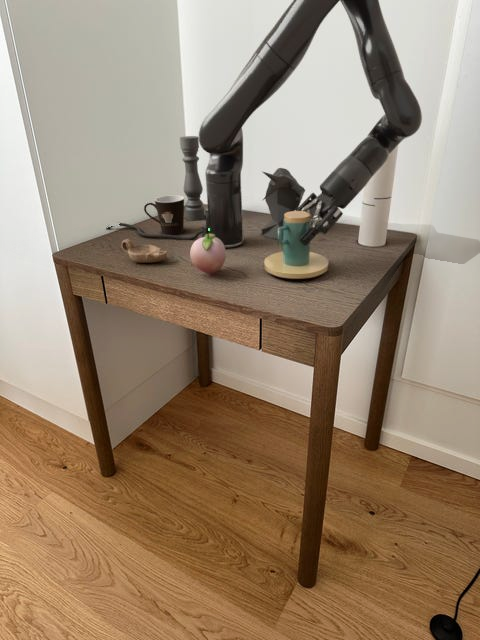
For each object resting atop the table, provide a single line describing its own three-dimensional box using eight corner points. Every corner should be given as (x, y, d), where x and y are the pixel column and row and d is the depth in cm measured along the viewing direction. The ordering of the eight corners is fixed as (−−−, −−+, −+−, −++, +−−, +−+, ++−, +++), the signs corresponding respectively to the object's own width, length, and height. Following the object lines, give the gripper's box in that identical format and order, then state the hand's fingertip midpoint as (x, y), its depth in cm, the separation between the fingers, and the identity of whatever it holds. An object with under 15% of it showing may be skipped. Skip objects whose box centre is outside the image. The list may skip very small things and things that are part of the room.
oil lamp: (173, 259, 118) (171, 240, 115) (155, 269, 112) (153, 250, 110) (134, 252, 123) (131, 234, 121) (115, 261, 118) (112, 242, 115)
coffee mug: (192, 229, 140) (190, 197, 135) (174, 237, 133) (171, 203, 129) (163, 225, 145) (160, 193, 141) (145, 232, 139) (140, 199, 134)
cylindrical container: (386, 247, 121) (399, 147, 109) (358, 246, 122) (368, 146, 110) (384, 238, 127) (397, 142, 115) (358, 237, 128) (367, 142, 116)
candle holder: (186, 215, 154) (179, 136, 142) (204, 214, 155) (199, 135, 143) (185, 221, 149) (178, 139, 137) (204, 219, 149) (199, 138, 137)
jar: (294, 250, 117) (296, 202, 111) (341, 266, 107) (345, 213, 101) (251, 266, 109) (249, 214, 103) (297, 284, 99) (298, 228, 93)
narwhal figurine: (316, 228, 137) (319, 165, 129) (283, 240, 128) (284, 174, 119) (279, 219, 146) (280, 161, 138) (246, 231, 137) (245, 168, 128)
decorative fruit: (192, 267, 112) (188, 228, 107) (225, 265, 113) (223, 226, 108) (191, 283, 104) (187, 240, 99) (227, 280, 104) (225, 238, 100)
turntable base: (260, 272, 108) (260, 268, 108) (289, 258, 116) (290, 254, 116) (302, 284, 101) (302, 280, 101) (331, 268, 109) (331, 264, 108)
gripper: (322, 165, 106) (275, 218, 109) (350, 176, 93) (295, 236, 97) (342, 186, 109) (295, 238, 112) (371, 200, 97) (317, 257, 100)
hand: (295, 237), depth 105 cm, fingers open, 8 cm apart
